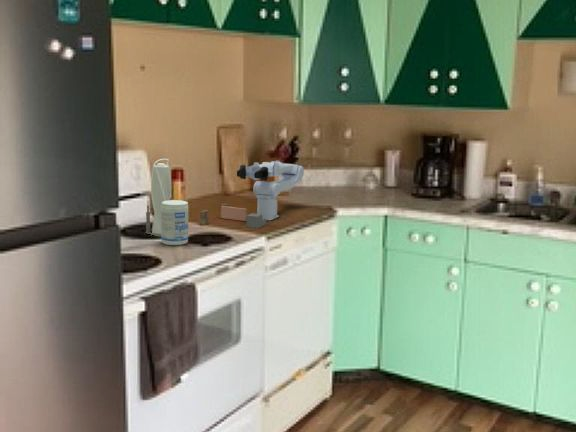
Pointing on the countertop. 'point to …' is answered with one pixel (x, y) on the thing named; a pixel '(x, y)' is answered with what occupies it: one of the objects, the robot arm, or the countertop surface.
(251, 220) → the block
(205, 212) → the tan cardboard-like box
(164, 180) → the skyscraper
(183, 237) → the supplement tub
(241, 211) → the door
